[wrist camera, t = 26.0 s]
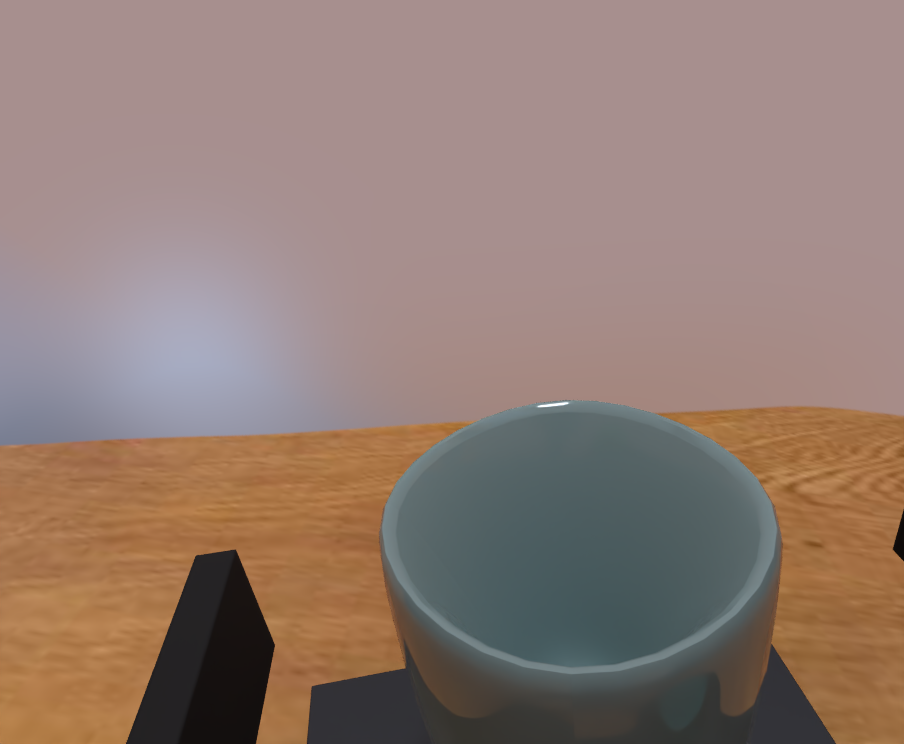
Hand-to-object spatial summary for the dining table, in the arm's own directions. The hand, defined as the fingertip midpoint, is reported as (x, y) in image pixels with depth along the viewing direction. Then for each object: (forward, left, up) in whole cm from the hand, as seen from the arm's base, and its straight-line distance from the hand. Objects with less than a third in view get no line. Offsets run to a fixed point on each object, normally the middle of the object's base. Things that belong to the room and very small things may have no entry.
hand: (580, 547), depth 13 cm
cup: (+1, 0, -10) cm, 10 cm away
